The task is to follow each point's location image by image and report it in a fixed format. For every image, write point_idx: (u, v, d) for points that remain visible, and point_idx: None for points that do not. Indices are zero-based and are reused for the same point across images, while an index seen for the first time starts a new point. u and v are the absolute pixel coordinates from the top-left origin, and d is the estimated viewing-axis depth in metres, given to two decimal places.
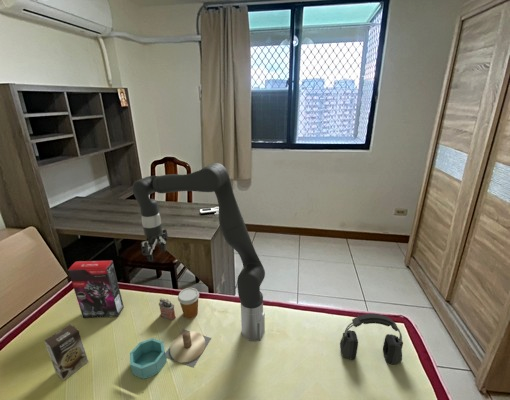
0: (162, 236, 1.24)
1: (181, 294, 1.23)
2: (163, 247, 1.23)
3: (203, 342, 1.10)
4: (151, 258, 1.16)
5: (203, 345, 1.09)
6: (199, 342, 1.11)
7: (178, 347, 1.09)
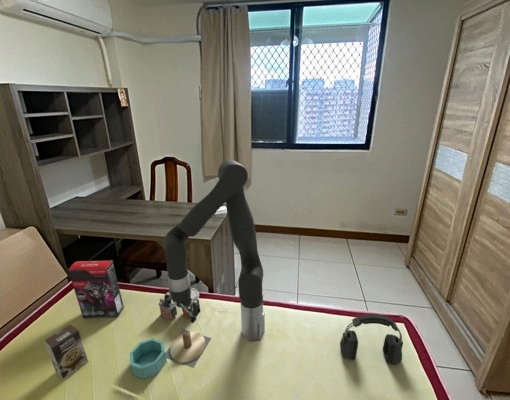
0: (168, 302, 1.03)
1: None
2: (175, 310, 1.06)
3: (203, 342, 1.10)
4: None
5: (203, 345, 1.09)
6: (199, 342, 1.11)
7: (178, 347, 1.09)
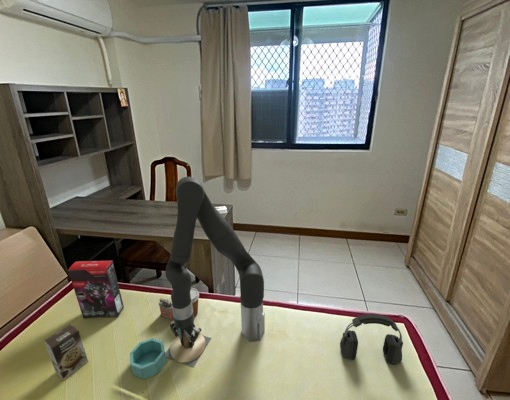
0: (175, 331, 1.08)
1: None
2: None
3: (203, 342, 1.10)
4: None
5: (203, 345, 1.09)
6: (199, 342, 1.11)
7: (178, 347, 1.09)
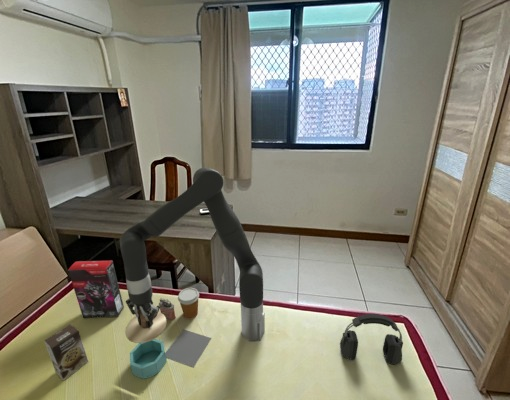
0: (132, 308, 0.97)
1: (181, 294, 1.23)
2: None
3: (163, 323, 0.99)
4: None
5: (163, 326, 0.98)
6: (159, 322, 1.00)
7: (135, 326, 0.98)
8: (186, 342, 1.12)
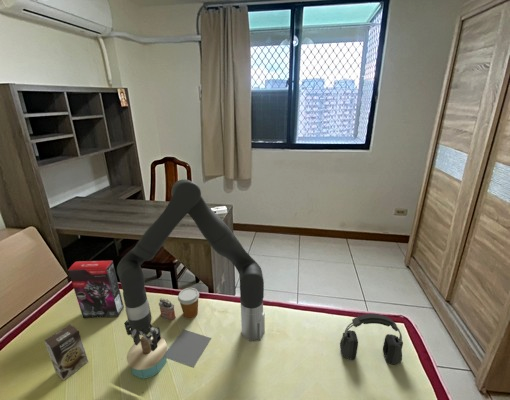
0: (129, 329, 0.99)
1: (181, 294, 1.23)
2: (138, 337, 1.01)
3: (164, 347, 1.02)
4: (156, 344, 0.99)
5: (163, 351, 1.01)
6: (160, 347, 1.02)
7: (136, 352, 1.00)
8: (186, 342, 1.12)
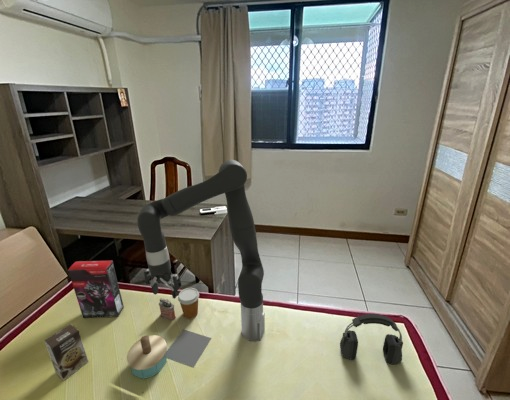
0: (148, 279, 1.02)
1: (181, 294, 1.23)
2: (157, 287, 1.04)
3: (164, 347, 1.02)
4: None
5: (163, 351, 1.01)
6: (160, 347, 1.02)
7: (136, 352, 1.00)
8: (186, 342, 1.12)
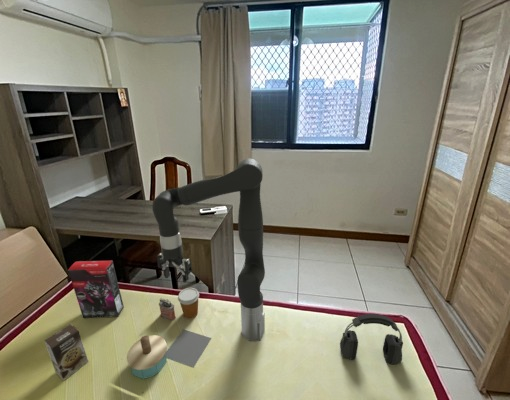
0: (160, 263, 1.06)
1: (181, 294, 1.23)
2: (168, 271, 1.08)
3: (164, 347, 1.02)
4: None
5: (163, 351, 1.01)
6: (160, 347, 1.02)
7: (136, 352, 1.00)
8: (186, 342, 1.12)
